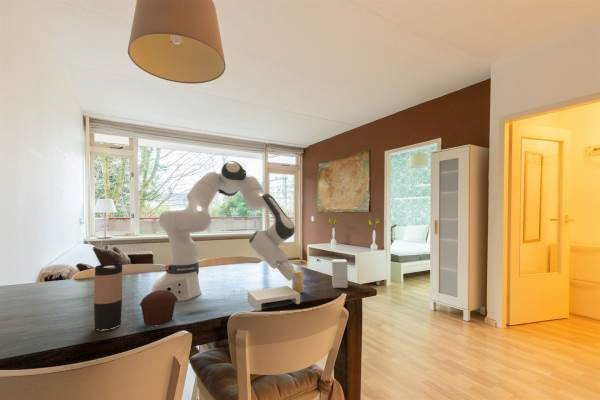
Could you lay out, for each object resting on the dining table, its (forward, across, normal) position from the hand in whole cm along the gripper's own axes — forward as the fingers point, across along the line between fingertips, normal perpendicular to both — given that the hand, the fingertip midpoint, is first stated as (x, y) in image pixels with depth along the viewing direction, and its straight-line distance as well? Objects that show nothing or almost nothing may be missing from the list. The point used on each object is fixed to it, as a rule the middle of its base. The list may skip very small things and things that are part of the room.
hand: (299, 280), depth 130 cm
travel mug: (-42, -34, +50) cm, 73 cm away
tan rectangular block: (+3, 0, +4) cm, 5 cm away
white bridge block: (-4, -13, +12) cm, 18 cm away
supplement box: (+18, +9, -11) cm, 23 cm away
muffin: (-31, -30, +39) cm, 58 cm away
